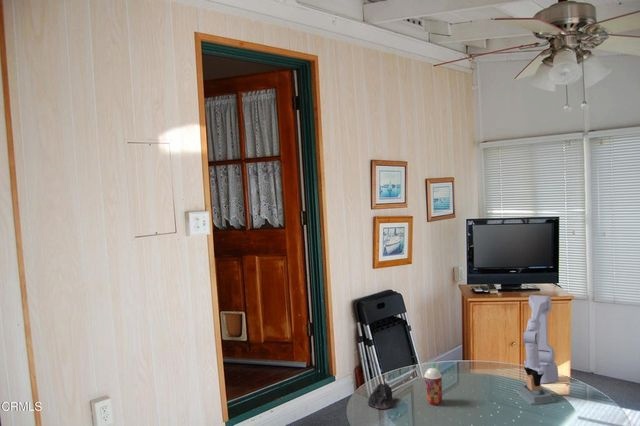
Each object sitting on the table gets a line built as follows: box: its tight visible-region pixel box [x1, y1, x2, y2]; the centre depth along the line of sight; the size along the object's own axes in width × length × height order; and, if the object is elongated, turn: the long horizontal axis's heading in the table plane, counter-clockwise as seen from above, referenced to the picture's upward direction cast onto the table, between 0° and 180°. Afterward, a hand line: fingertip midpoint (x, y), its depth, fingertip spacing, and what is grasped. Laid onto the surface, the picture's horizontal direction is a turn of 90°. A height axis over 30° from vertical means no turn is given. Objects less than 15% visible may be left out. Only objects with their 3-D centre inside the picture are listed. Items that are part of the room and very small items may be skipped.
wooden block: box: [525, 374, 542, 391], centre depth 247 cm, size 4×4×6 cm
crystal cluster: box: [367, 382, 394, 410], centre depth 255 cm, size 13×14×10 cm
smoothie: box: [423, 362, 443, 406], centre depth 251 cm, size 8×8×20 cm
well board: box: [515, 383, 557, 406], centre depth 248 cm, size 12×15×3 cm
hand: (534, 383), depth 247 cm, fingers closed on wooden block, 4 cm apart
